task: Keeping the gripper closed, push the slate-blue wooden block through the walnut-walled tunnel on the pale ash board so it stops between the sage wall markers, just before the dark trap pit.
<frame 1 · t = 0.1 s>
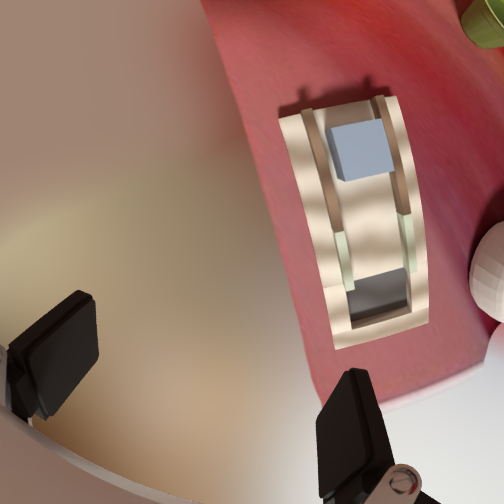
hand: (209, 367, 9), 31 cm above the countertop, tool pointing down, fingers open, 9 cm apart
slate block: (353, 150, 33), point 2 cm above the countertop, touching tunnel board
mug: (503, 252, 36), on the countertop
tunnel board: (359, 193, 37), on the countertop
plant pot: (475, 30, 25), on the countertop
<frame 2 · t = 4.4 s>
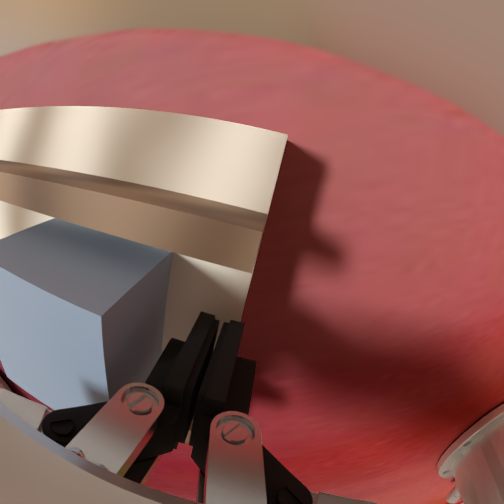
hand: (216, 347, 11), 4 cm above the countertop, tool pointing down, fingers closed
slate block: (105, 294, 12), point 2 cm above the countertop, touching gripper, tunnel board
tunnel board: (51, 246, 14), on the countertop
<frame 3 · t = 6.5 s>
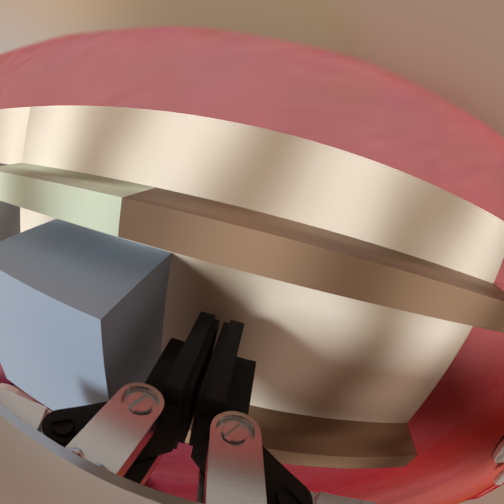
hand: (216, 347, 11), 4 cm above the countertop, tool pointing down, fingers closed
slate block: (104, 296, 12), point 2 cm above the countertop, touching gripper, tunnel board
tunnel board: (221, 301, 14), on the countertop
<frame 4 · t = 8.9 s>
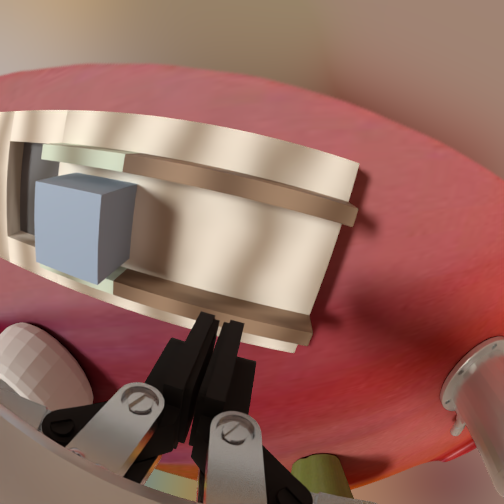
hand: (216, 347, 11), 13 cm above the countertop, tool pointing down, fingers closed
slate block: (100, 214, 21), point 2 cm above the countertop, touching tunnel board
mug: (62, 377, 32), on the countertop
tunnel board: (177, 221, 23), on the countertop
plant pot: (316, 462, 34), on the countertop
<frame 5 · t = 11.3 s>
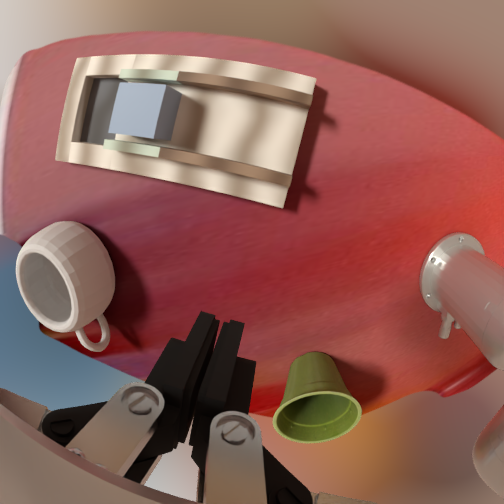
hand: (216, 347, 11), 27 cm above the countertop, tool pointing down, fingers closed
slate block: (154, 114, 31), point 2 cm above the countertop, touching tunnel board
mug: (87, 278, 43), on the countertop
tunnel board: (204, 121, 33), on the countertop
plant pot: (313, 367, 43), on the countertop
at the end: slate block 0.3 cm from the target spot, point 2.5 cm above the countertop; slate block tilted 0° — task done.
